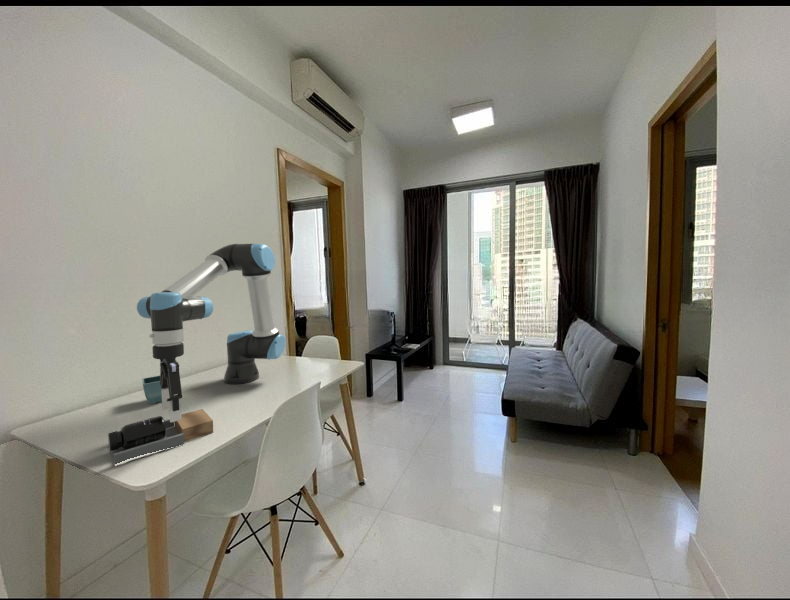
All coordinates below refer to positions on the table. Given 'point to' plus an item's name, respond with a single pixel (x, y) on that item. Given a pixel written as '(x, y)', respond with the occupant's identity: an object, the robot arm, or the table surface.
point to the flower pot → (152, 389)
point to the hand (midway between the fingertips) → (171, 414)
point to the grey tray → (151, 444)
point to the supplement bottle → (137, 434)
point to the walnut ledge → (194, 424)
